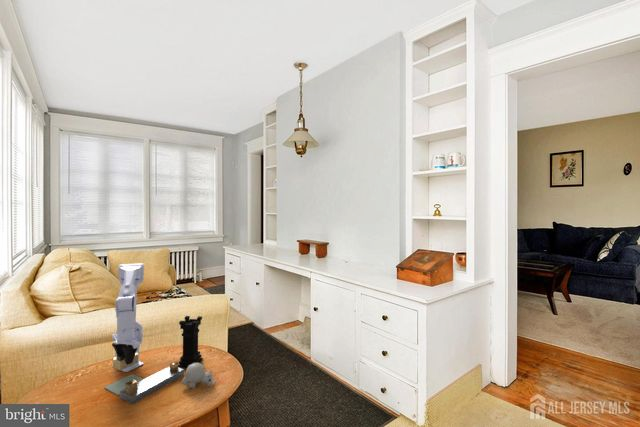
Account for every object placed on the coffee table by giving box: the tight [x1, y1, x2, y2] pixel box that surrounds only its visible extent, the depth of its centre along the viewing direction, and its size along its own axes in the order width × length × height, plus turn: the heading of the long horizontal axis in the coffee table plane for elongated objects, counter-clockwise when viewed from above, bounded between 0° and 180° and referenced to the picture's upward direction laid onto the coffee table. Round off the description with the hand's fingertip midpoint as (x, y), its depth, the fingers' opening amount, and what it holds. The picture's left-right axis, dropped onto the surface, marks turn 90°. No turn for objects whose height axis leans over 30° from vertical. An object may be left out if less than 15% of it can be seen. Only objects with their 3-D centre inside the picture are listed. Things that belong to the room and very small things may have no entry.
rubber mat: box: [103, 373, 145, 397], centre depth 129 cm, size 9×11×1 cm
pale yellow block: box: [112, 353, 138, 371], centre depth 128 cm, size 7×4×4 cm, turn 152°
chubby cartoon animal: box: [181, 362, 216, 390], centre depth 129 cm, size 7×12×8 cm, turn 89°
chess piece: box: [178, 315, 204, 369], centre depth 145 cm, size 8×8×20 cm
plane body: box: [119, 361, 185, 405], centre depth 128 cm, size 22×7×6 cm, turn 152°
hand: (125, 361), depth 128 cm, fingers closed on pale yellow block, 4 cm apart
